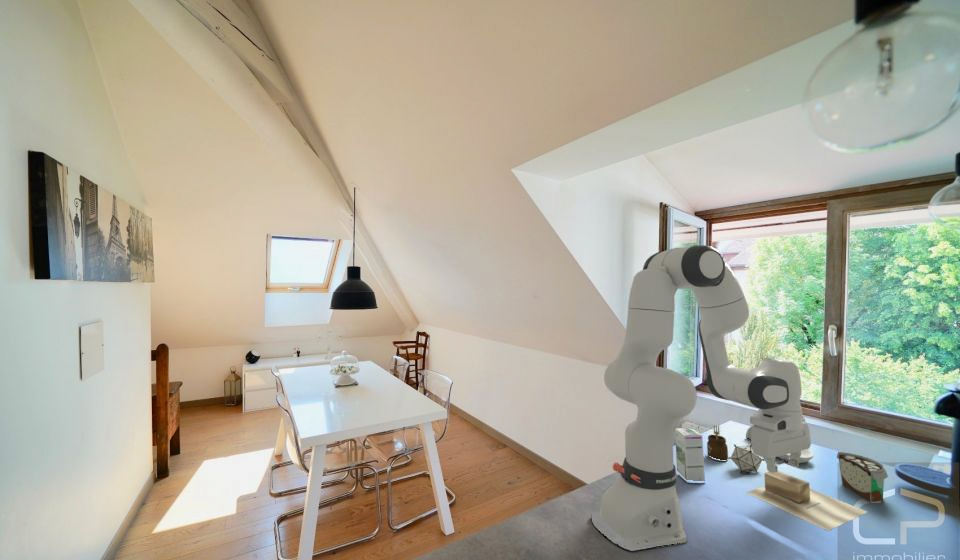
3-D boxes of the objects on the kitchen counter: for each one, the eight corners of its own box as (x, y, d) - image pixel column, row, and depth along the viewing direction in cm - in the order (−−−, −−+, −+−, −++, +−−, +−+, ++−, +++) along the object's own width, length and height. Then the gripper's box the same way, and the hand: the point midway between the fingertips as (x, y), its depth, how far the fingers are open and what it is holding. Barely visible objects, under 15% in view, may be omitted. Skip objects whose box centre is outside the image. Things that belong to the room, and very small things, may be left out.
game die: (753, 486, 112) (765, 470, 106) (722, 469, 117) (731, 453, 111) (759, 464, 117) (770, 447, 112) (729, 449, 122) (738, 432, 117)
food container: (904, 513, 91) (901, 473, 92) (875, 510, 93) (873, 471, 93) (863, 487, 103) (861, 452, 104) (838, 486, 105) (836, 450, 105)
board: (828, 536, 83) (827, 530, 84) (746, 496, 100) (745, 492, 100) (868, 516, 90) (868, 511, 90) (785, 482, 107) (785, 478, 107)
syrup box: (706, 483, 107) (703, 434, 108) (686, 484, 107) (683, 434, 108) (695, 474, 113) (692, 427, 114) (676, 474, 113) (674, 427, 114)
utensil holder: (727, 456, 125) (725, 421, 125) (728, 463, 119) (726, 427, 120) (707, 452, 128) (705, 418, 128) (707, 459, 123) (705, 424, 123)
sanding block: (799, 504, 94) (798, 486, 94) (765, 489, 101) (764, 473, 102) (810, 499, 96) (809, 482, 96) (776, 485, 103) (775, 469, 104)
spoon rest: (824, 467, 116) (822, 444, 117) (788, 468, 116) (786, 445, 116) (765, 438, 140) (764, 419, 140) (735, 439, 140) (734, 420, 140)
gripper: (790, 410, 106) (792, 458, 106) (745, 418, 99) (747, 469, 98) (817, 416, 101) (819, 467, 100) (771, 425, 93) (773, 480, 92)
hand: (783, 468), depth 99 cm, fingers open, 8 cm apart
